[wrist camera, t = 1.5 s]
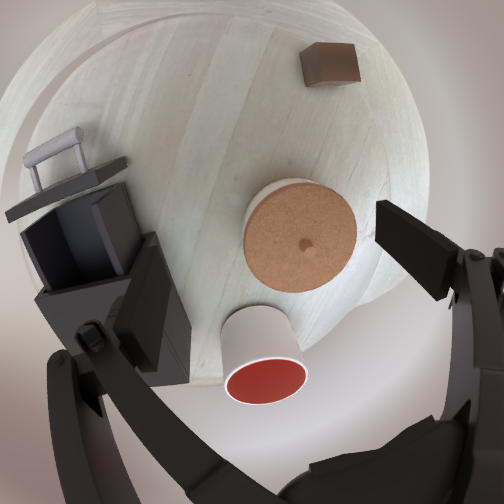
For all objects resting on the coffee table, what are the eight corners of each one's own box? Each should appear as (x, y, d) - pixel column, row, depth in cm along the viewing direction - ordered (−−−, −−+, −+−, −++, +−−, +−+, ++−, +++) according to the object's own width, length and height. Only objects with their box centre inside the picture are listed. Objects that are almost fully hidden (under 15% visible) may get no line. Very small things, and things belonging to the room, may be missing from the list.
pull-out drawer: (33, 155, 22) (-8, 170, 15) (115, 116, 22) (82, 117, 15) (83, 286, 30) (60, 325, 23) (161, 269, 31) (149, 312, 24)
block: (299, 53, 23) (315, 42, 18) (333, 53, 23) (354, 43, 18) (305, 86, 24) (323, 81, 20) (339, 85, 25) (361, 81, 20)
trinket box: (253, 155, 27) (272, 171, 19) (340, 185, 30) (384, 212, 22) (225, 245, 32) (230, 293, 23) (307, 264, 34) (334, 310, 26)
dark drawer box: (69, 254, 29) (33, 299, 21) (155, 231, 30) (135, 277, 21) (114, 338, 36) (98, 389, 28) (191, 327, 37) (189, 383, 28)
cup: (273, 289, 35) (292, 344, 27) (298, 334, 40) (317, 386, 31) (206, 320, 36) (207, 377, 28) (240, 359, 41) (248, 412, 32)
